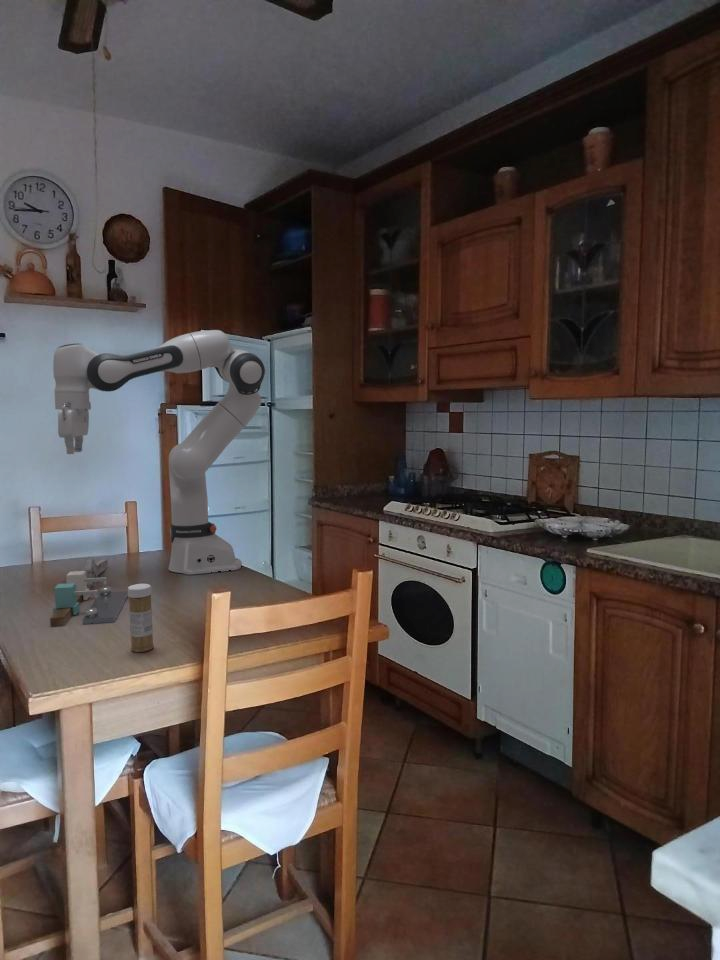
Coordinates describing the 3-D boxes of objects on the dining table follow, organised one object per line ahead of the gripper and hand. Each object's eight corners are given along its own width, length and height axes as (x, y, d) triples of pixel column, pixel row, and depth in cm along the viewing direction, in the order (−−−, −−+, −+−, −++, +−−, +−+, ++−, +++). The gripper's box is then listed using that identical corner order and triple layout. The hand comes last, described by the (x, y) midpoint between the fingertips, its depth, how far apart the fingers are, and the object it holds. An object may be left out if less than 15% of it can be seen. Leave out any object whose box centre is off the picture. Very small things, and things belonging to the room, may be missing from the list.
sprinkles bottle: (146, 643, 144) (143, 581, 143) (158, 648, 141) (155, 585, 140) (126, 649, 141) (123, 586, 140) (137, 654, 138) (134, 589, 136)
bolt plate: (128, 595, 183) (127, 585, 182) (114, 622, 159) (113, 610, 159) (100, 596, 181) (100, 586, 181) (82, 624, 158) (82, 612, 158)
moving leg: (100, 608, 170) (98, 581, 169) (97, 613, 166) (95, 585, 165) (57, 611, 168) (55, 584, 167) (53, 616, 164) (51, 588, 163)
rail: (84, 598, 180) (84, 590, 180) (64, 625, 157) (64, 617, 157) (72, 598, 180) (72, 591, 179) (50, 626, 157) (50, 618, 157)
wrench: (108, 576, 216) (92, 589, 187) (102, 576, 216) (85, 590, 186) (107, 551, 216) (91, 560, 187) (101, 551, 216) (84, 560, 186)
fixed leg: (108, 594, 182) (107, 569, 182) (106, 598, 178) (104, 573, 178) (68, 597, 180) (67, 571, 180) (65, 601, 176) (63, 575, 176)
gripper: (75, 402, 179) (78, 455, 180) (91, 403, 199) (94, 450, 200) (50, 402, 178) (53, 455, 179) (68, 403, 198) (71, 451, 199)
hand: (74, 453), depth 190 cm, fingers open, 8 cm apart
